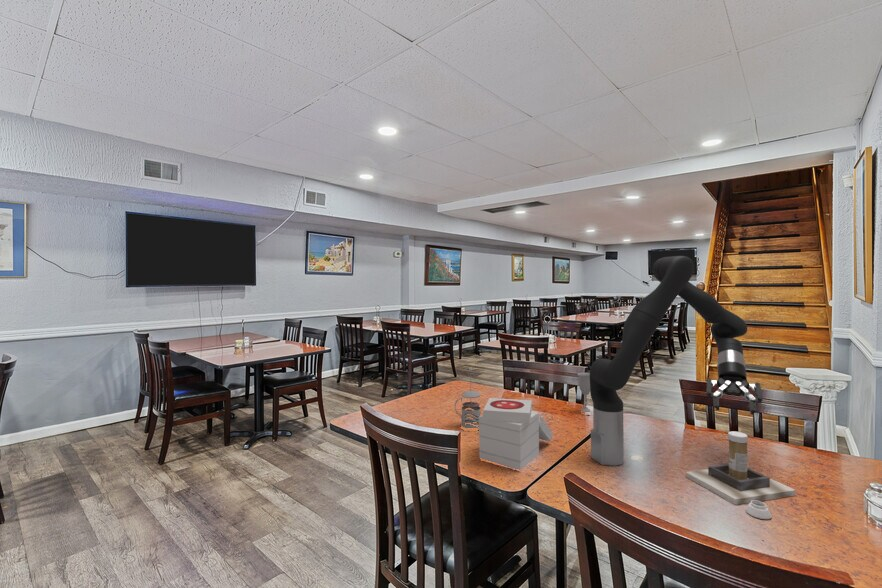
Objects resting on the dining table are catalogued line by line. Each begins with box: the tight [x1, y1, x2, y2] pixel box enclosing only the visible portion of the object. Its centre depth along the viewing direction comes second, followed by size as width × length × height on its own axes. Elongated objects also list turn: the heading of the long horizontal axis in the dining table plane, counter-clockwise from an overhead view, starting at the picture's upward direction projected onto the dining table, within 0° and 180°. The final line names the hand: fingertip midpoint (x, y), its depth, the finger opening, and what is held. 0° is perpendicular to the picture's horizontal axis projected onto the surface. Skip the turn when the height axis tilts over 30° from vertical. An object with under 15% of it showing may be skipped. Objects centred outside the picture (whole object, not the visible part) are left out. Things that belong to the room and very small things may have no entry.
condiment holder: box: [685, 463, 797, 506], centre depth 115 cm, size 20×16×4 cm
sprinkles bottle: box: [727, 430, 749, 480], centre depth 115 cm, size 5×5×14 cm
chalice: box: [577, 372, 591, 412], centre depth 181 cm, size 7×7×18 cm
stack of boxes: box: [478, 397, 554, 470], centre depth 140 cm, size 19×30×18 cm, turn 144°
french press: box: [454, 366, 481, 428], centre depth 165 cm, size 10×12×25 cm
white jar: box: [745, 500, 772, 520], centre depth 100 cm, size 5×3×5 cm
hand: (734, 411), depth 123 cm, fingers open, 8 cm apart
